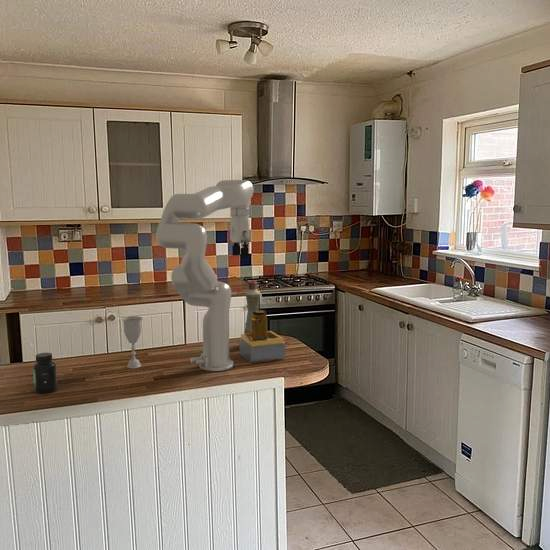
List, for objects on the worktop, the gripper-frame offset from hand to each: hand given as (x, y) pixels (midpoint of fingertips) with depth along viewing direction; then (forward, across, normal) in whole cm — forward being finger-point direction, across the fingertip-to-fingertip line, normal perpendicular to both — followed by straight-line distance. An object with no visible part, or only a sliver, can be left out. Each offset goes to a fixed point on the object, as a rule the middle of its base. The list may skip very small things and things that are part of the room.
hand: (240, 256), depth 212 cm
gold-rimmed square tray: (+38, +10, +6) cm, 40 cm away
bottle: (+38, -4, +7) cm, 39 cm away
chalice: (+38, +3, -43) cm, 58 cm away
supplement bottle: (+38, +17, -73) cm, 84 cm away
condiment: (+32, +10, +5) cm, 34 cm away
